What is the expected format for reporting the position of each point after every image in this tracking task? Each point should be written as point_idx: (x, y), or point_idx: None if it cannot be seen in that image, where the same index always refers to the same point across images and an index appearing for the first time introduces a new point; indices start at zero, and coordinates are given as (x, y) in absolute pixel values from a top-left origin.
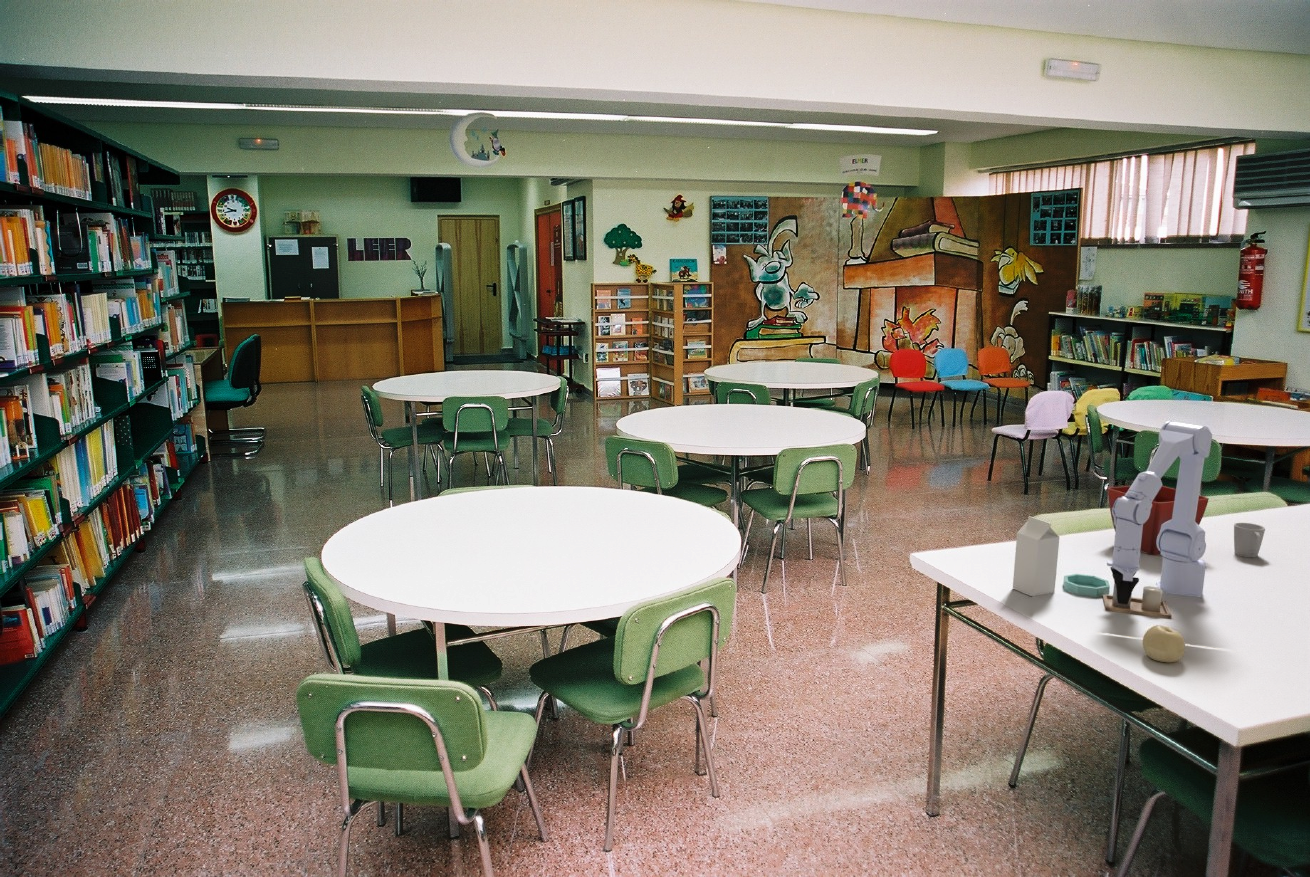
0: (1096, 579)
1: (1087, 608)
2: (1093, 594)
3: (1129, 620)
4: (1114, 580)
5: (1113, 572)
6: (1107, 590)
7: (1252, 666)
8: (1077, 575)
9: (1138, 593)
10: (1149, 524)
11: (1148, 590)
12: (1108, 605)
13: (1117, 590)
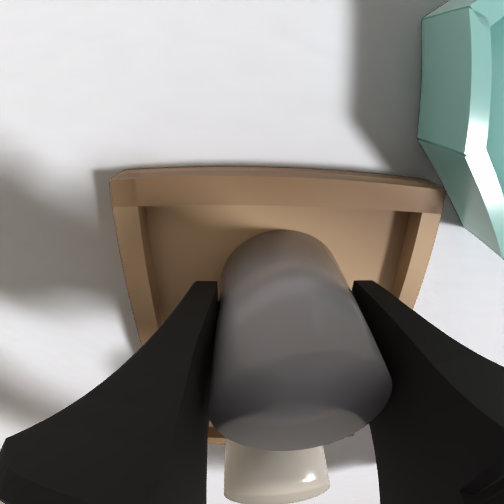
0: None
1: (156, 44)
2: (435, 120)
3: (64, 293)
4: (17, 434)
5: (483, 435)
6: (482, 233)
7: (6, 437)
8: None
9: (480, 345)
10: None
11: (237, 487)
12: (168, 201)
13: (136, 354)
